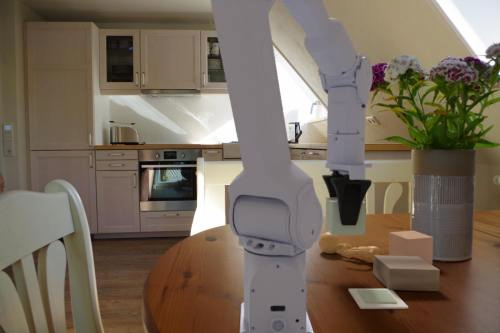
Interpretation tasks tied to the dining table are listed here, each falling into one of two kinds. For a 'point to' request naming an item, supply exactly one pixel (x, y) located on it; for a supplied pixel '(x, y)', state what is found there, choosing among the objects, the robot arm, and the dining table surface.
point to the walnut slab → (406, 273)
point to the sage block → (335, 223)
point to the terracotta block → (411, 245)
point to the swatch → (377, 299)
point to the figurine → (345, 247)
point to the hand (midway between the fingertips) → (344, 221)
